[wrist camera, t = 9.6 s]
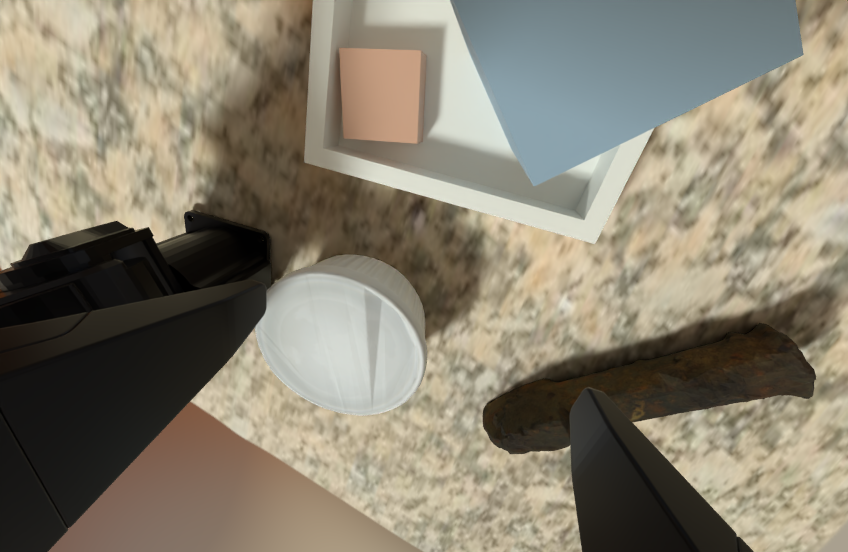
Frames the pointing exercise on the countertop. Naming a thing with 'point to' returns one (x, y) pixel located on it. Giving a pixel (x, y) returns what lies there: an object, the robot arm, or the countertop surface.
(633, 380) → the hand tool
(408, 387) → the ramekin
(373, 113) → the terracotta tile
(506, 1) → the blue block
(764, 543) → the countertop surface
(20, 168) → the countertop surface
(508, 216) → the tray
